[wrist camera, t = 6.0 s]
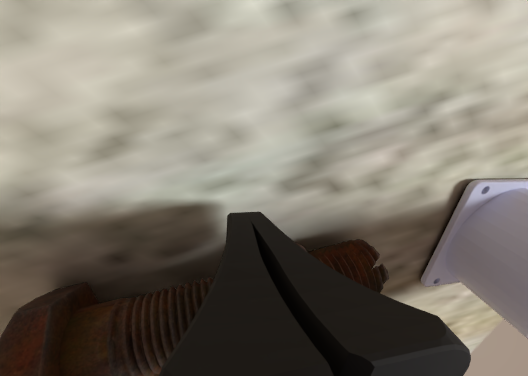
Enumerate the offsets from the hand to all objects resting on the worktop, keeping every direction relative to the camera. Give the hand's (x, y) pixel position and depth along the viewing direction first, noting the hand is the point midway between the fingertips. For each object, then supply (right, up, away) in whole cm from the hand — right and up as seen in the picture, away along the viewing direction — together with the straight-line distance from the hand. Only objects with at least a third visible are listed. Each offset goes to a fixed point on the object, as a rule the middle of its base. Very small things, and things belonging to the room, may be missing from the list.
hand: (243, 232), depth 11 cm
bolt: (-1, -3, +3) cm, 5 cm away
